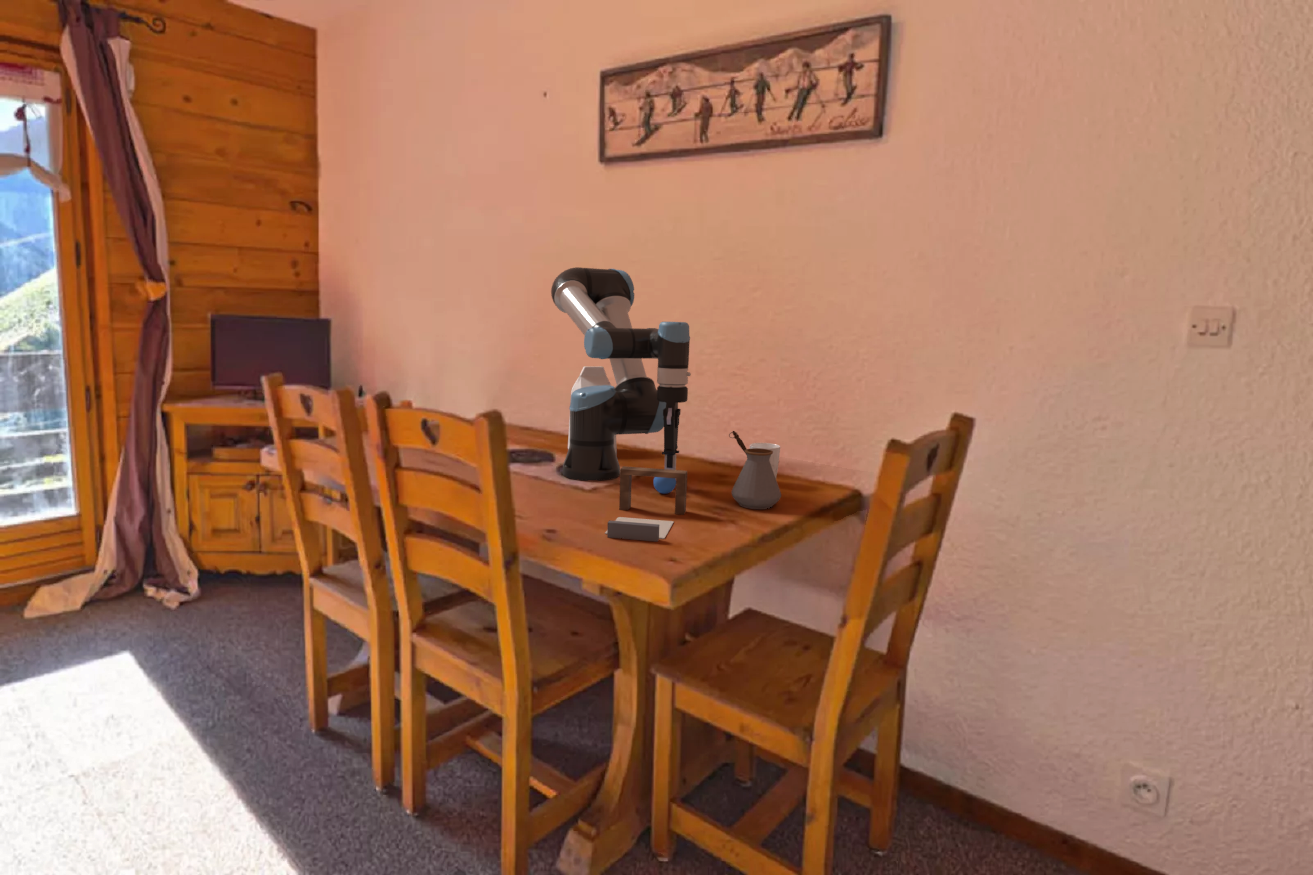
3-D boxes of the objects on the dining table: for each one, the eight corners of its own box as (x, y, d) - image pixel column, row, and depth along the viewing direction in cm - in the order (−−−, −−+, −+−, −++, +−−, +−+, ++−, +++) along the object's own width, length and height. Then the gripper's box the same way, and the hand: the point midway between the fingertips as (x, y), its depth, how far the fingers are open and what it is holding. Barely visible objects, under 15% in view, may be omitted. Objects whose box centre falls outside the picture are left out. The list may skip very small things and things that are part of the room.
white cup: (777, 487, 196) (779, 449, 194) (746, 485, 198) (748, 447, 196) (778, 480, 204) (781, 443, 202) (749, 478, 205) (751, 441, 204)
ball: (651, 495, 184) (651, 472, 183) (655, 489, 189) (655, 468, 188) (673, 496, 183) (674, 474, 182) (677, 491, 188) (678, 469, 187)
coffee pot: (789, 510, 175) (793, 445, 172) (742, 513, 171) (746, 447, 169) (750, 488, 195) (754, 429, 192) (708, 490, 191) (711, 430, 189)
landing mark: (604, 533, 152) (604, 532, 152) (618, 517, 164) (618, 516, 164) (664, 539, 150) (664, 538, 150) (673, 522, 162) (673, 521, 162)
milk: (578, 456, 227) (580, 368, 223) (567, 448, 238) (568, 365, 233) (616, 454, 232) (618, 368, 227) (604, 447, 242) (606, 365, 238)
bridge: (619, 509, 170) (620, 469, 169) (622, 506, 173) (623, 466, 172) (683, 514, 168) (685, 473, 166) (685, 511, 171) (687, 470, 169)
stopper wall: (607, 537, 150) (607, 522, 150) (609, 535, 152) (609, 520, 151) (657, 541, 148) (658, 526, 148) (658, 539, 150) (659, 524, 149)
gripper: (685, 388, 180) (682, 486, 184) (690, 383, 193) (687, 475, 197) (653, 387, 181) (651, 484, 185) (660, 382, 194) (658, 473, 198)
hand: (669, 479), depth 191 cm, fingers closed
